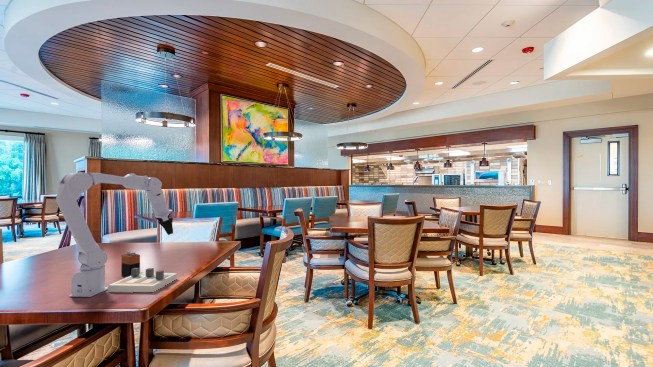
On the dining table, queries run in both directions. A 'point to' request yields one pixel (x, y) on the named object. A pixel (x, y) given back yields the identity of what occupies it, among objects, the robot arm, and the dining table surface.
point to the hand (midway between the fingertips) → (169, 231)
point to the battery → (129, 263)
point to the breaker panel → (141, 283)
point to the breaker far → (135, 272)
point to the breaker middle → (149, 272)
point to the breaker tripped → (160, 274)
